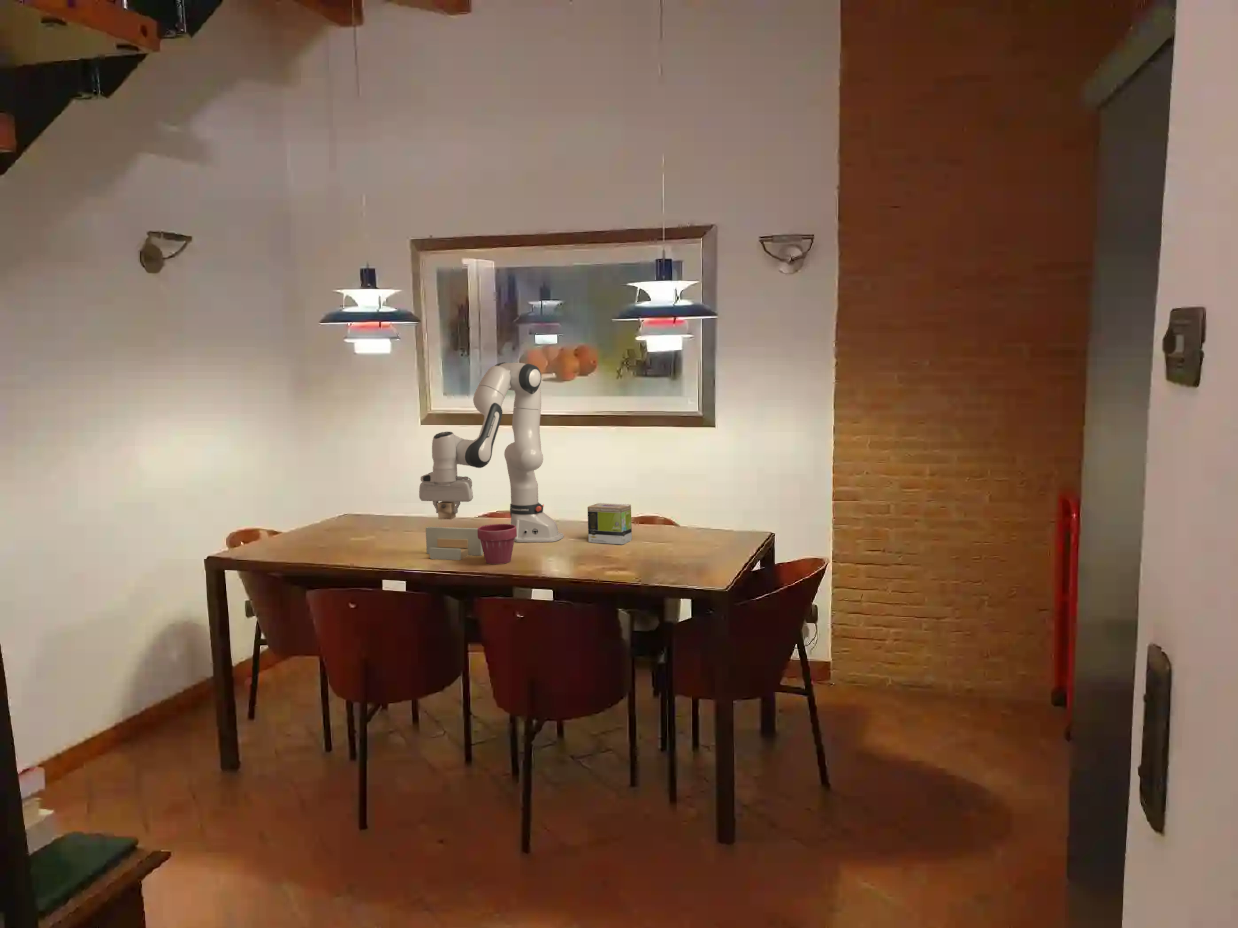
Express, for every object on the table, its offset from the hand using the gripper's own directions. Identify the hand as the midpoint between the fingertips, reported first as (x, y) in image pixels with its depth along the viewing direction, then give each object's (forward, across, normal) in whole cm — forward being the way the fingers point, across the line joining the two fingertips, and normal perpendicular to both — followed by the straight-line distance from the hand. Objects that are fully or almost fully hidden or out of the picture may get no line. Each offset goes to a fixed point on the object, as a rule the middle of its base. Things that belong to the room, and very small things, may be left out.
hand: (447, 513), depth 345 cm
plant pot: (+17, -21, +4) cm, 27 cm away
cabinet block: (+2, 0, 0) cm, 2 cm away
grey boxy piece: (+17, 0, -1) cm, 17 cm away
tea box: (+17, -53, -36) cm, 67 cm away
